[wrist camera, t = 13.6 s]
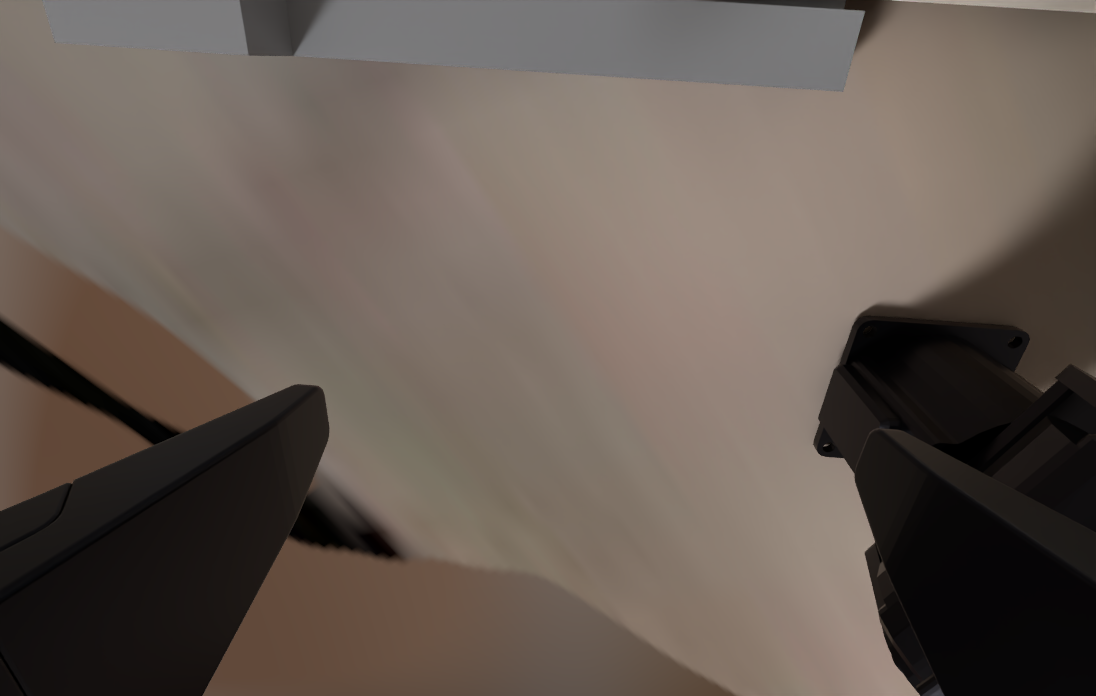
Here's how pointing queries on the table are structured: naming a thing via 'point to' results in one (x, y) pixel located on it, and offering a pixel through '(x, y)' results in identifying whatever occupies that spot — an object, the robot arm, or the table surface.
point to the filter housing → (500, 34)
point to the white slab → (1026, 4)
